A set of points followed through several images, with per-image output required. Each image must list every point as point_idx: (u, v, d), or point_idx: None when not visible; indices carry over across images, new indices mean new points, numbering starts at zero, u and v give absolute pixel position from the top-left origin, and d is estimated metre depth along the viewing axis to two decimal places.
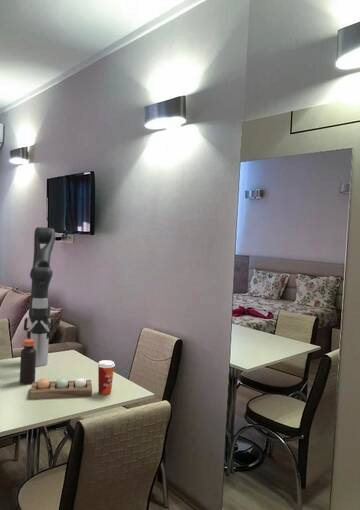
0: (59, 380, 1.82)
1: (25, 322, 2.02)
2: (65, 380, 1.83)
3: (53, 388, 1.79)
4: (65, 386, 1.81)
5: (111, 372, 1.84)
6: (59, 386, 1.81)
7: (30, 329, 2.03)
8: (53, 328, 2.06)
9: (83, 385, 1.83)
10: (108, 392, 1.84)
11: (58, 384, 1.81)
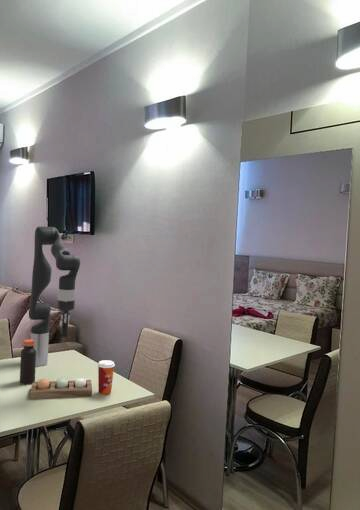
0: (59, 380, 1.82)
1: (68, 322, 1.80)
2: (65, 380, 1.83)
3: (53, 388, 1.79)
4: (65, 386, 1.81)
5: (111, 372, 1.84)
6: (59, 386, 1.81)
7: None
8: None
9: (83, 385, 1.83)
10: (108, 392, 1.84)
11: (58, 384, 1.81)
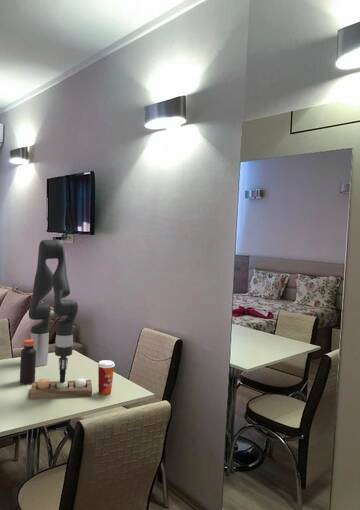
0: (59, 382, 1.82)
1: (65, 368, 1.78)
2: (65, 381, 1.83)
3: (53, 388, 1.79)
4: None
5: (111, 372, 1.84)
6: None
7: (65, 370, 1.82)
8: None
9: (83, 385, 1.83)
10: (108, 392, 1.84)
11: (58, 386, 1.81)
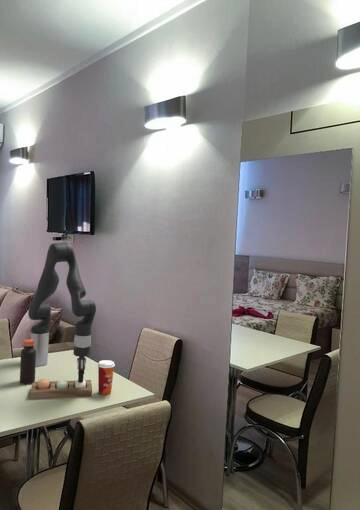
0: (59, 383, 1.82)
1: (84, 368, 1.80)
2: (65, 382, 1.83)
3: (53, 388, 1.79)
4: None
5: (111, 372, 1.84)
6: None
7: (83, 370, 1.84)
8: None
9: (83, 387, 1.83)
10: (108, 392, 1.84)
11: (58, 387, 1.81)
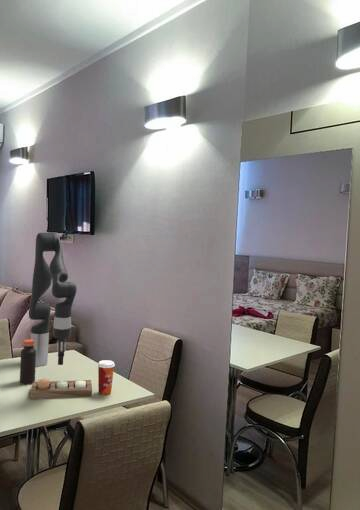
0: (59, 383, 1.82)
1: (64, 350, 1.78)
2: (65, 382, 1.83)
3: (53, 388, 1.79)
4: None
5: (111, 372, 1.84)
6: None
7: None
8: None
9: None
10: (108, 392, 1.84)
11: (58, 387, 1.81)
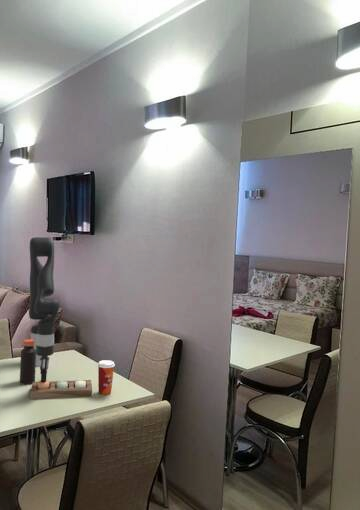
0: (59, 383, 1.82)
1: (46, 368, 1.76)
2: (65, 382, 1.83)
3: (53, 388, 1.79)
4: None
5: (111, 372, 1.84)
6: None
7: None
8: None
9: None
10: (108, 392, 1.84)
11: (58, 387, 1.81)
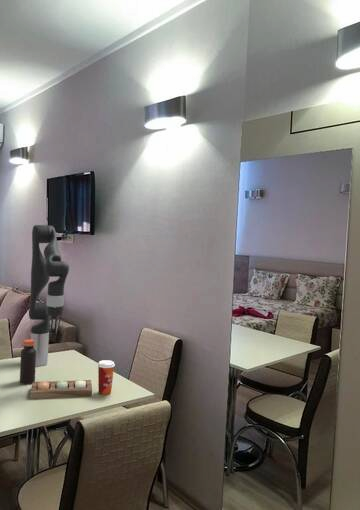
0: (59, 383, 1.82)
1: (56, 327, 1.83)
2: (65, 382, 1.83)
3: (53, 388, 1.79)
4: None
5: (111, 372, 1.84)
6: None
7: (56, 330, 1.87)
8: None
9: None
10: (108, 392, 1.84)
11: (58, 387, 1.81)
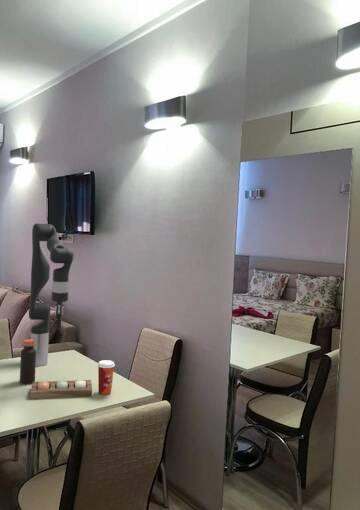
0: (59, 383, 1.82)
1: (61, 313, 1.87)
2: (65, 382, 1.83)
3: (53, 388, 1.79)
4: None
5: (111, 372, 1.84)
6: None
7: None
8: None
9: None
10: (108, 392, 1.84)
11: (58, 387, 1.81)
